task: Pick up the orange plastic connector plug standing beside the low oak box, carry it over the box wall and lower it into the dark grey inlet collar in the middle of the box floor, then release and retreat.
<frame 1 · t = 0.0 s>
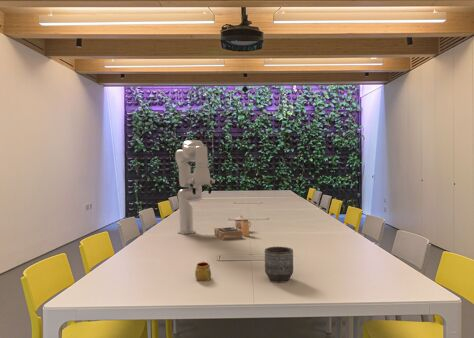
hand: (202, 193, 242), 31 cm above the table, fingers open, 9 cm apart
planter: (279, 279, 169), on the table
connector: (245, 235, 269), on the table
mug: (204, 277, 174), on the table
oak box: (228, 236, 266), on the table
teacup with lid: (243, 231, 287), on the table
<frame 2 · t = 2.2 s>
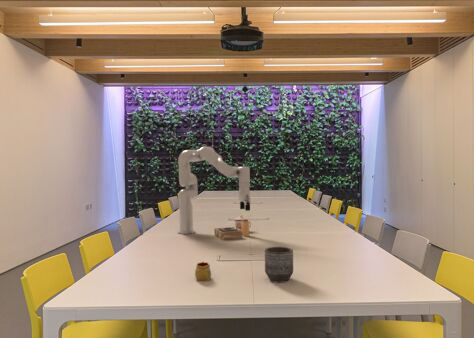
hand: (245, 209, 268), 18 cm above the table, fingers open, 9 cm apart
nothing on the table moved.
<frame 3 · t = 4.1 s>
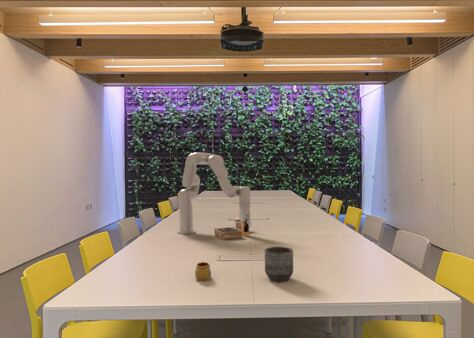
hand: (245, 230, 269), 3 cm above the table, fingers closed on connector, 4 cm apart
connector: (245, 235, 269), on the table, touching gripper
everything else where it was.
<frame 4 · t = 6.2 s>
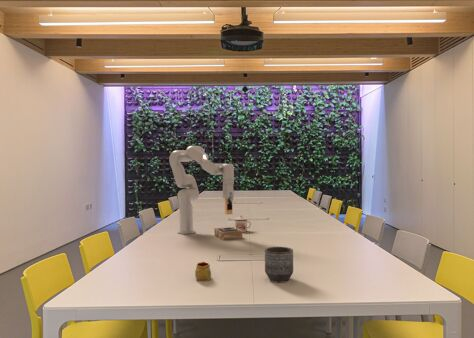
hand: (228, 209, 266), 19 cm above the table, fingers closed on connector, 4 cm apart
connector: (228, 213, 266), point 16 cm above the table, touching gripper
everything else where it was.
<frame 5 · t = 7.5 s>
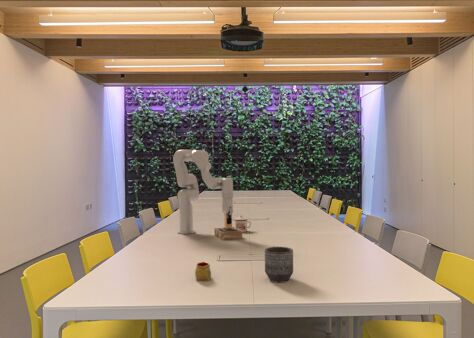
hand: (228, 223, 265), 9 cm above the table, fingers closed on connector, 4 cm apart
connector: (228, 227, 265), point 6 cm above the table, touching gripper
everything else where it was.
when the fingers open (7 cm above the table, at t = 8.3 s): connector drops 2 cm, resting on oak box.
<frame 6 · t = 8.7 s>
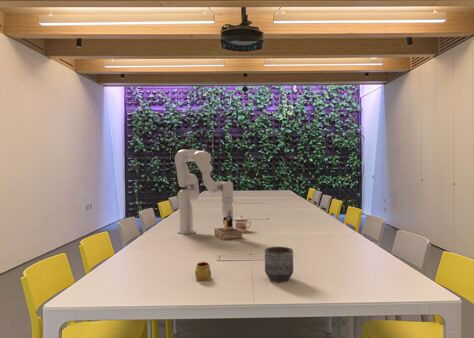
hand: (228, 225, 265), 8 cm above the table, fingers open, 8 cm apart
connector: (228, 235, 266), point 1 cm above the table, touching oak box
everything else where it was.
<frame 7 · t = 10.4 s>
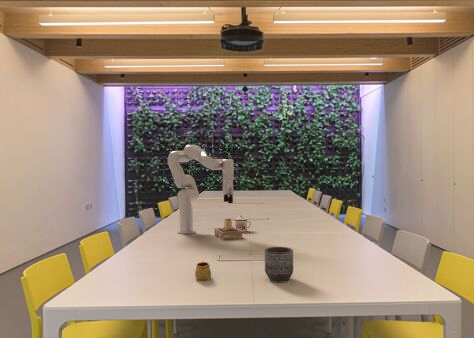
hand: (228, 202, 267), 23 cm above the table, fingers open, 9 cm apart
nothing on the table moved.
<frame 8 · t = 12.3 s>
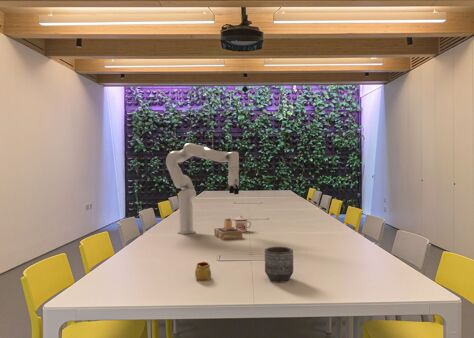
hand: (234, 193, 276), 28 cm above the table, fingers open, 9 cm apart
nothing on the table moved.
at the end: connector 0.1 cm off-centre on the oak box, point 1.0 cm above the oak box's base; connector tilted 0°; the gripper is holding nothing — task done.
